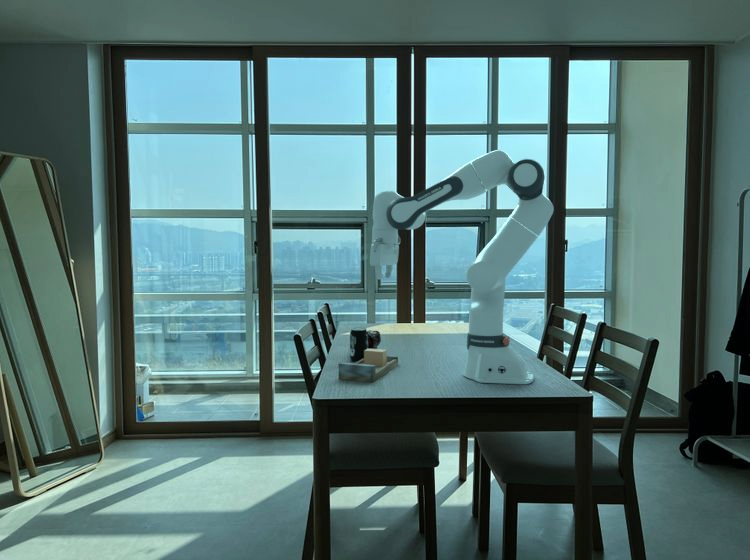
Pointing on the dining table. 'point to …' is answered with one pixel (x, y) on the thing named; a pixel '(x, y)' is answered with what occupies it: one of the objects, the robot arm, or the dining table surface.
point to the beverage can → (358, 343)
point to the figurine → (373, 339)
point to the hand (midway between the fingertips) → (383, 278)
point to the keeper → (375, 357)
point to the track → (365, 370)
